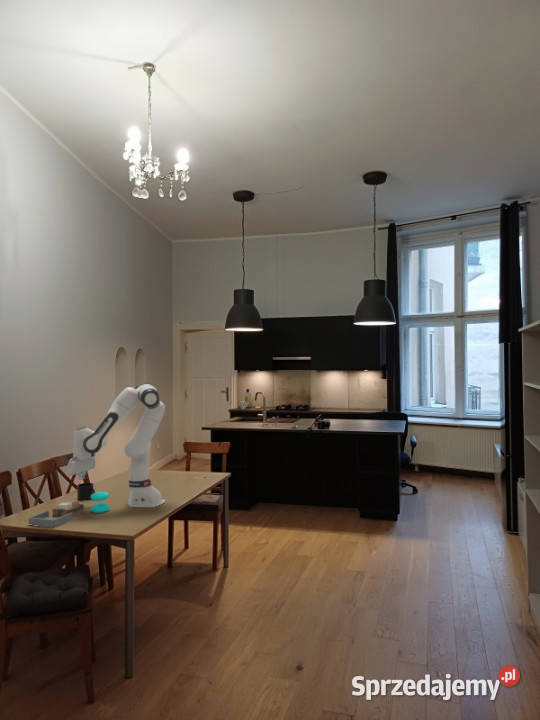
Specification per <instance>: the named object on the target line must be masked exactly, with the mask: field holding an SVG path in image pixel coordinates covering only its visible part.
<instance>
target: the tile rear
mask: <svg viewBox="0 0 540 720" xmlns="http://www.w3.org/2000/svg"><path fill="white" fill-rule="evenodd" d="M65 502H70V503H72V506H75V505H78V504H80V501H79V500H78V499H69V500H67V501H65Z"/></svg>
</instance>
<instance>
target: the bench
mask: <svg viewBox="0 0 540 720" xmlns="http://www.w3.org/2000/svg"><path fill="white" fill-rule="evenodd" d="M84 505H85V504H84V503H79V504H78V505H75V506H72V507H70V508H68V509H59V508H58V506H56V507H54V508H52V517H62V516H64V515H67V514H69V513H73V518H76V517H78V516H80V515H79V514H81V515H83V514H84V513H85V512H84V511H85V510H84ZM82 513H83V514H82ZM77 515H78V516H77ZM75 516H76V517H75Z"/></svg>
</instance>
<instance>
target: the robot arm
mask: <svg viewBox="0 0 540 720" xmlns="http://www.w3.org/2000/svg"><path fill="white" fill-rule="evenodd" d="M138 403H142V405H143V406H145V411H144V412H143V414H142V416H141V419H140V420H139V423H138V424H137V427H135V430H134V431H133V433H132V434H131V436H130V438H129V440H128V441H127V443H126V445H125V446H124V454H125V455H126V456H127V457H128V458H130V463H129V466H128V467H129V469H128V470H129V471H128V472H129V473H128V474H129V480H128V487H129V488H128V489H129V494H128V500H127V502H126V503H127V505H128V506H129V507H130V508H157V507H159V505H160V506H162V505H164V504H165V503H166V502H165V501H166V499H162V493H161V492H160V490H158V489H157V488H156V487H154V485H152V483H153V480H151V479H150V478H149V477H150V475H149V461H150V456H151V454H150V453H151V447H152V442H151V440H152V438H153V437H154V435H155V434H156V432H157V429H158V427H159V425H160V424H161V422H162V419H163V417H164V414H165V412H166V411H165V409H166V406H165V404H164V402H163V401H161V400H160V394H159V392H158V389H157V388H156V387H155V386H154V385H152V383H148V382H145V383H141V384H139V385H138V386H136V387H135V388H134V387H132V386H127V387H125V388H124V389H123V390H122V391H121V392H120V393H119V394H118V395H117V397H116V398H115V400H114V401H112V404H111V406H110V407H109V409H108V411H107V413H106V415H105V417H104V419H103V420H102V422H101V423H100V424H99V425H98V427H97V428H96V429H95V430H92V429H90V428H89V427H87V426H82V427H79V428H77V429H75V430H73V431H74V432H73V437H72V444H73V450H72V451H73V452H72V453H73V454H72V457H71V458H70V459H69V460H68V463H67V467H66V468H67V469H66V470H67V472H66V473H67V475H69V476H74V475H77V477H78V480H79V481H82V480H85V479H86V477H85V476H86V474H87V471H90V470H93V469H95V467H96V457H95V456H96V453H98V452H99V451H100V450H102V449H103V447H104V446H106V445H107V437H106V436H107V435H108V433H109V432H110V431H111V429H113V427H114V426H115V425H116V424H118V423H119V422H121V421H122V420H124V419H125V418H126V417H127V416H128V415H129V414H130V412H131V411H132V410H133V409H134V407H135V406H136V405H137V404H138ZM163 503H164V504H163ZM161 504H162V505H161ZM156 506H157V507H156Z"/></svg>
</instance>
